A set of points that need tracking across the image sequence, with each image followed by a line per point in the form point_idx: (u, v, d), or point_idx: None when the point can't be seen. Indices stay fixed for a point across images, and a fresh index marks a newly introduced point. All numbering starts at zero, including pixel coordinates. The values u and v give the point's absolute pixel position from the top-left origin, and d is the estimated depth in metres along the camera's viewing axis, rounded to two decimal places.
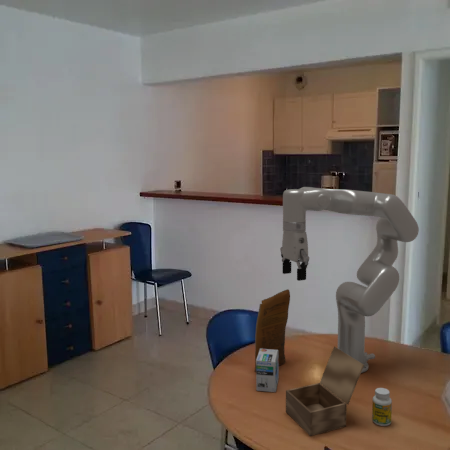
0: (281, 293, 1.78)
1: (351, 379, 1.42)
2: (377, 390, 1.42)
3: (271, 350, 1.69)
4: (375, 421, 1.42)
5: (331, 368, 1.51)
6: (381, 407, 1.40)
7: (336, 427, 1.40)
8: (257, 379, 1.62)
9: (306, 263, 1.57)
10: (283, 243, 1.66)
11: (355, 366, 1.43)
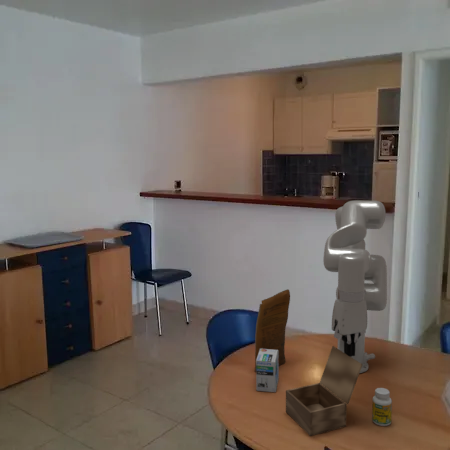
0: (281, 293, 1.78)
1: (350, 379, 1.42)
2: (377, 390, 1.42)
3: (271, 350, 1.69)
4: (375, 421, 1.42)
5: (330, 368, 1.51)
6: (381, 407, 1.40)
7: (336, 427, 1.40)
8: (257, 379, 1.62)
9: None
10: (345, 319, 1.42)
11: (354, 366, 1.42)
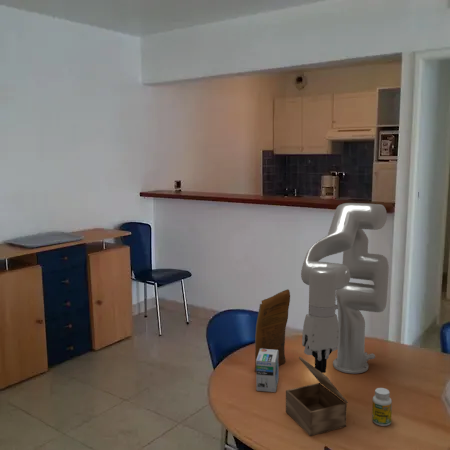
0: (281, 293, 1.78)
1: (331, 386, 1.40)
2: (377, 390, 1.42)
3: (271, 350, 1.69)
4: (375, 421, 1.42)
5: (314, 374, 1.49)
6: (381, 407, 1.40)
7: (336, 427, 1.40)
8: (257, 379, 1.62)
9: None
10: (315, 334, 1.38)
11: (323, 377, 1.39)
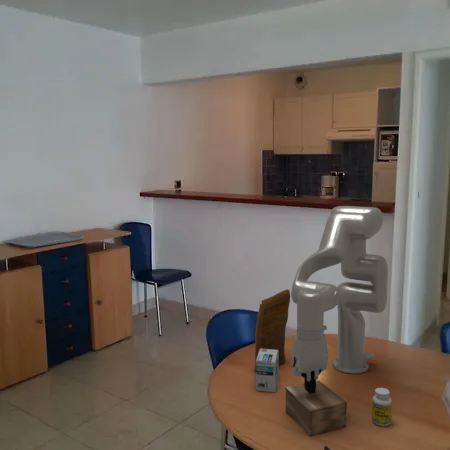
0: (281, 293, 1.78)
1: None
2: (377, 390, 1.42)
3: (271, 350, 1.69)
4: (375, 421, 1.42)
5: None
6: (381, 407, 1.40)
7: (336, 427, 1.40)
8: (257, 379, 1.62)
9: None
10: (304, 357, 1.39)
11: None
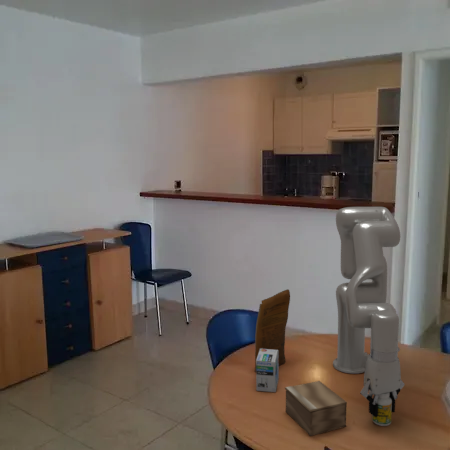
0: (281, 293, 1.78)
1: None
2: None
3: (271, 350, 1.69)
4: (375, 421, 1.42)
5: None
6: (381, 407, 1.40)
7: (336, 427, 1.40)
8: (257, 379, 1.62)
9: None
10: (379, 379, 1.38)
11: None
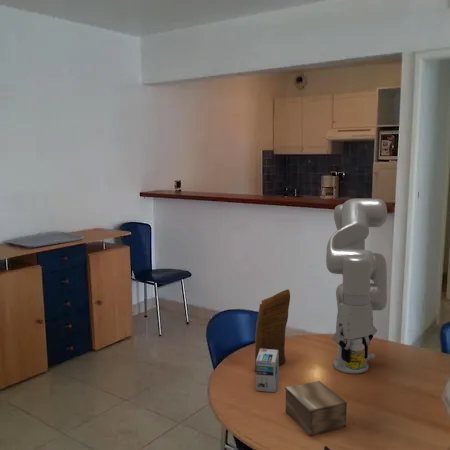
0: (281, 293, 1.78)
1: None
2: None
3: (271, 350, 1.69)
4: (348, 367, 1.40)
5: None
6: (354, 352, 1.38)
7: (336, 427, 1.40)
8: (257, 379, 1.62)
9: None
10: (351, 323, 1.36)
11: None
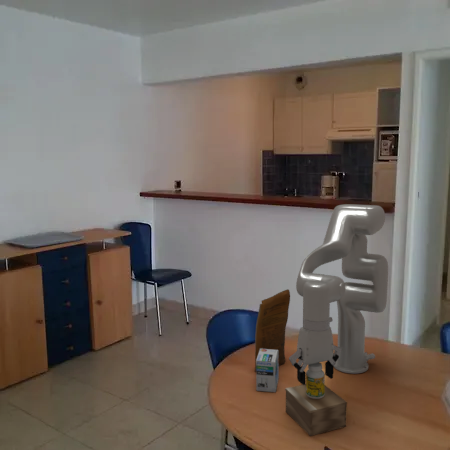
0: (281, 293, 1.78)
1: None
2: None
3: (271, 350, 1.69)
4: (308, 394, 1.43)
5: None
6: (313, 380, 1.41)
7: (336, 427, 1.40)
8: (257, 379, 1.62)
9: None
10: (310, 348, 1.39)
11: None
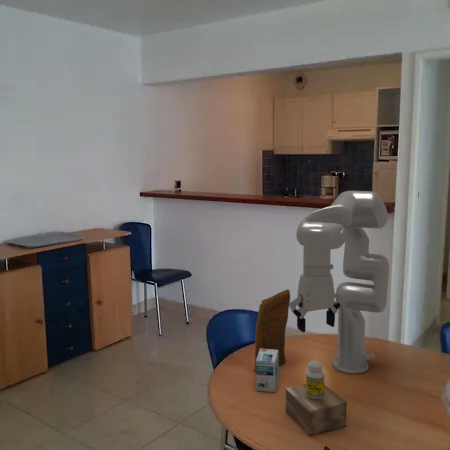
0: (281, 293, 1.78)
1: None
2: (310, 364, 1.43)
3: (271, 350, 1.69)
4: (308, 394, 1.43)
5: None
6: (313, 380, 1.41)
7: (336, 427, 1.40)
8: (257, 379, 1.62)
9: None
10: (310, 294, 1.36)
11: None
